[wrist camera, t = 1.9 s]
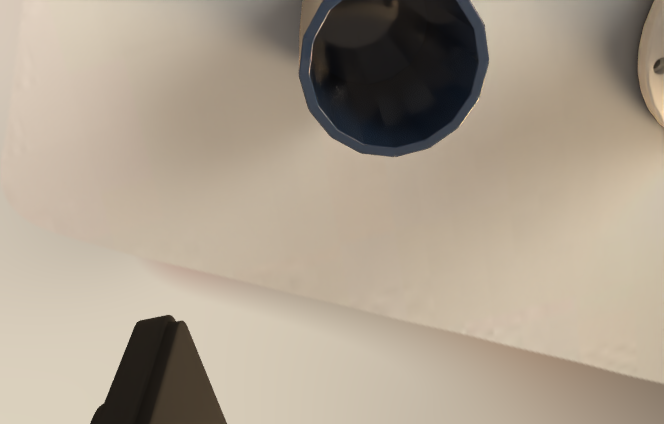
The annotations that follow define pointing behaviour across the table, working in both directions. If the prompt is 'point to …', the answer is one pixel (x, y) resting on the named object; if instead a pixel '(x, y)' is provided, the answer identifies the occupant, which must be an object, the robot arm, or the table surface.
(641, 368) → the table surface
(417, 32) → the cup
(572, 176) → the table surface
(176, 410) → the robot arm
